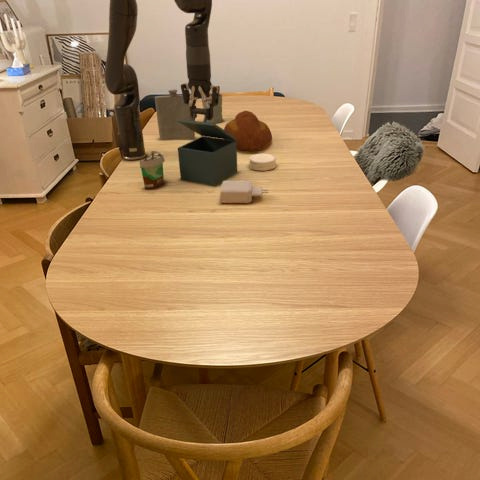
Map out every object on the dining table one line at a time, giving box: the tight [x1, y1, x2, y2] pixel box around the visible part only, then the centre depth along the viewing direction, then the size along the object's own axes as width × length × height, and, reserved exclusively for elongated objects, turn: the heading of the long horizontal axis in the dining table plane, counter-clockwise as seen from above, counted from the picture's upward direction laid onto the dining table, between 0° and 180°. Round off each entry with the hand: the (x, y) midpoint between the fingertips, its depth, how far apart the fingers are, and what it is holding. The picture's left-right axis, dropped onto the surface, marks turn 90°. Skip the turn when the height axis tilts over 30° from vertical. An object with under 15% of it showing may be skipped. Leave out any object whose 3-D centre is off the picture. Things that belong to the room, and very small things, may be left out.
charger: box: [220, 180, 270, 204], centre depth 152 cm, size 5×9×15 cm
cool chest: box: [177, 136, 238, 187], centre depth 168 cm, size 16×15×11 cm
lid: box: [177, 107, 237, 141], centre depth 162 cm, size 16×15×6 cm
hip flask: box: [154, 88, 196, 141], centre depth 205 cm, size 16×4×20 cm, turn 88°
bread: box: [223, 110, 273, 152], centre depth 199 cm, size 21×33×12 cm, turn 3°
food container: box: [139, 150, 165, 190], centre depth 162 cm, size 12×6×10 cm, turn 168°
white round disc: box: [248, 153, 277, 172], centre depth 176 cm, size 10×10×4 cm
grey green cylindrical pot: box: [201, 92, 223, 124], centre depth 230 cm, size 10×10×12 cm
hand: (201, 118), depth 157 cm, fingers closed on lid, 5 cm apart
